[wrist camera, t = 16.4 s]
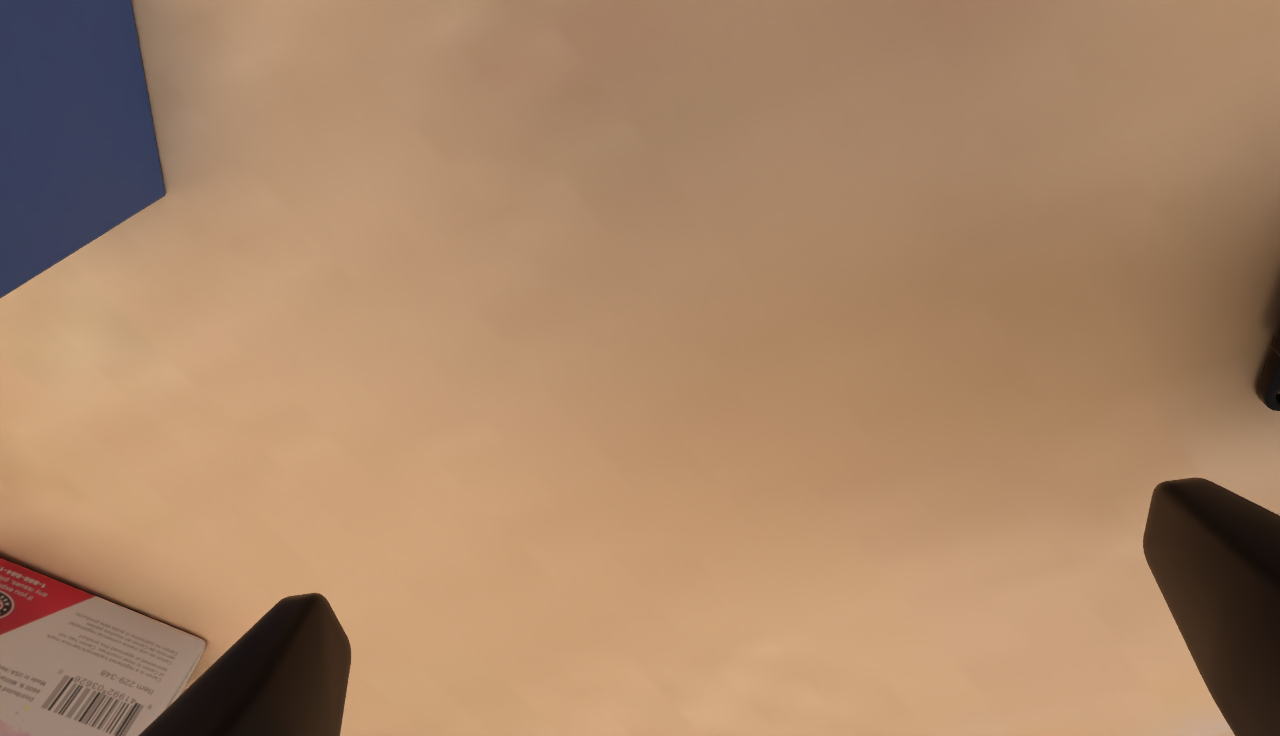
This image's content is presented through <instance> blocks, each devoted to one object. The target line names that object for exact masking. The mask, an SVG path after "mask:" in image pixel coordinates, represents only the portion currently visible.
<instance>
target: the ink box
mask: <svg viewBox="0 0 1280 736" xmlns="http://www.w3.org/2000/svg"><path fill="white" fill-rule="evenodd" d="M204 650H205V642H204V640H202V639H200V638H199V637H196V636H194V635H191V634H189V633H186V632H184V631H181V630H179V629H176V628H174V627H171V626H169V625H167V624H164V623H162V622H159V621H157V620H154V619H152V618H149V617H147V616H144V615H142V614H139V613H137V612H134V611H132V610H129V609H127V608H124V607H122V606H119V605H117V604H114V603H112V602H109V601H107V600H104V599H102V598H100V597H97V596H94V595H91V594H89V593H86V592H84V591H81V590H79V589H76V588H74V587H71V586H69V585H67V584H64V583H62V582H59V581H57V580H54V579H52V578H49V577H47V576H44V575H42V574H39V573H37V572H34V571H32V570H30V569H27V568H25V567H22V566H19V565H17V564H14V563H12V562H9V561H7V560H4V559H2V558H0V736H138V735H139V734H140V733H142V732H143V731H144V730H145V729H146V728H147V727H148V726H149V725H150V724H151V723H152V722H153V721H154V720H155V719H156V718H157V717H158V716H159V715H160V714H161V713H163V712H164V711H165V710H166V709H167V708H168V707H169V706H170V705H171V704H172V703H173V702H174V701H175V700H176V699H177V698H178V697H179V696H180V695H181V694H182V692H183V690H184V688H185V687H186V685H187V683H188V681H189V679H190V677H191V675H192V673H193V671H194V669H195V668H196V666H197V664H198V662H199V660H200V658H201V656H202V654H203V652H204Z"/></svg>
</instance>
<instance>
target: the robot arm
mask: <svg viewBox="0 0 1280 736" xmlns="http://www.w3.org/2000/svg"><path fill="white" fill-rule="evenodd" d="M1279 391H1280V323H1279V326H1278V328H1277V331H1276V334H1275V336H1274V339H1273V342H1272V348H1271V351H1270V353H1269V356H1268V358H1267V361H1266V364H1265V366H1264V369H1263V372H1262V374H1261V377H1260V380H1259V382H1258V385H1257V389H1256V394H1257V396H1258V398H1259V399H1260V400H1261V401H1262V402H1263V403H1264V404H1265V405H1266V406H1267V407H1269V408H1270V409H1272V410H1275V411H1280V394H1277V393H1278V392H1279ZM1143 548H1144V554H1145V557H1146V560H1147V563H1148V565H1149V567H1150V569H1151V571H1152V573H1153V575H1154V577H1155V580H1156V582H1157V584H1158V586H1159V588H1160V590H1161V592H1162V594H1163V596H1164V598H1165V601H1166V603H1167V605H1168V607H1169V609H1170V611H1171V613H1172V615H1173V617H1174V619H1175V621H1176V624H1177V626H1178V628H1179V630H1180V632H1181V634H1182V636H1183V638H1184V640H1185V642H1186V645H1187V647H1188V649H1189V651H1190V653H1191V655H1192V657H1193V659H1194V661H1195V663H1196V665H1197V668H1198V670H1199V672H1200V674H1201V676H1202V678H1203V680H1204V682H1205V684H1206V686H1207V688H1208V689H1209V691H1210V693H1211V695H1212V697H1213V699H1214V701H1215V702H1216V704H1217V706H1218V708H1219V709H1220V711H1221V713H1222V714H1223V716H1224V718H1225V720H1226V721H1227V723H1228V724H1229V726H1230V728H1231V729H1232V731H1233V733H1234V734H1235V736H1280V516H1279V515H1277V514H1275V513H1273V512H1271V511H1269V510H1267V509H1265V508H1263V507H1261V506H1259V505H1257V504H1255V503H1253V502H1251V501H1249V500H1247V499H1245V498H1243V497H1241V496H1239V495H1237V494H1235V493H1233V492H1231V491H1229V490H1227V489H1225V488H1223V487H1221V486H1219V485H1217V484H1215V483H1213V482H1211V481H1209V480H1206V479H1203V478H1188V479H1180V480H1172V481H1165V482H1162V483H1160V484H1158V485H1157V487H1156V488H1155V489H1154V492H1153V495H1152V499H1151V504H1150V509H1149V513H1148V518H1147V523H1146V528H1145V532H1144V538H1143ZM350 664H351V648H350V643H349V640H348V637H347V635H346V634H345V632H344V630H343V628H342V626H341V624H340V623H339V621H338V619H337V617H336V615H335V613H334V611H333V610H332V608H331V606H330V604H329V602H328V601H327V599H326V598H325V597H324V596H323V595H321V594H318V593H311V594H303V595H295V596H289V597H286V598H284V599H282V600H281V601H279V602H278V603H277V604H276V605H275V606H274V607H273V608H272V609H271V610H270V611H268V612H267V613H266V614H265V615H264V616H263V617H262V618H261V619H260V620H259V621H258V622H257V623H256V624H255V625H254V626H253V627H252V628H251V629H250V630H249V631H248V632H246V633H245V634H244V635H243V636H242V637H241V638H240V639H239V640H238V641H237V642H236V643H235V644H234V645H233V646H232V647H231V648H230V649H229V650H228V651H227V652H225V653H224V654H223V655H222V656H221V657H220V658H219V659H218V660H217V661H216V662H215V663H214V664H213V665H212V666H211V667H210V668H209V669H208V670H207V671H206V672H204V673H203V674H202V675H201V676H200V677H199V678H198V679H197V680H196V681H195V682H194V683H193V684H192V685H191V686H190V687H189V688H188V689H187V690H186V691H185V692H184V693H182V694H181V695H180V696H179V697H178V698H177V699H176V700H175V701H174V702H173V703H172V704H171V705H170V706H169V707H168V708H167V709H166V710H165V711H164V712H163V713H161V714H160V715H159V716H158V717H157V718H156V719H155V720H154V721H153V722H152V723H151V724H150V725H149V726H148V727H147V728H146V729H145V730H144V731H143V732H142V733H140V734H139V735H138V736H340V731H341V724H342V717H343V711H344V704H345V697H346V691H347V684H348V677H349V671H350Z"/></svg>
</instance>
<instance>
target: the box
mask: <svg viewBox="0 0 1280 736" xmlns="http://www.w3.org/2000/svg"><path fill="white" fill-rule="evenodd" d="M163 196H165V190H164V184H163V179H162V173H161V167H160V162H159V156H158V151H157V145H156V139H155V134H154V128H153V122H152V117H151V111H150V105H149V100H148V94H147V88H146V83H145V77H144V72H143V66H142V60H141V55H140V49H139V43H138V38H137V32H136V26H135V21H134V15H133V10H132V4H131V0H0V298H2V297H3V296H5V295H6V294H8V293H10V292H11V291H13V290H14V289H16V288H18V287H19V286H21V285H22V284H24V283H26V282H27V281H29V280H30V279H32V278H34V277H35V276H37V275H38V274H40V273H42V272H43V271H45V270H46V269H48V268H50V267H51V266H53V265H54V264H56V263H58V262H59V261H61V260H62V259H64V258H66V257H67V256H69V255H71V254H72V253H74V252H75V251H77V250H79V249H80V248H82V247H83V246H85V245H87V244H88V243H90V242H91V241H93V240H95V239H96V238H98V237H99V236H101V235H103V234H104V233H106V232H107V231H109V230H111V229H112V228H114V227H115V226H117V225H119V224H120V223H122V222H123V221H125V220H127V219H128V218H130V217H131V216H133V215H135V214H136V213H138V212H139V211H141V210H143V209H144V208H146V207H147V206H149V205H151V204H152V203H154V202H155V201H157V200H159V199H160V198H162V197H163Z"/></svg>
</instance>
